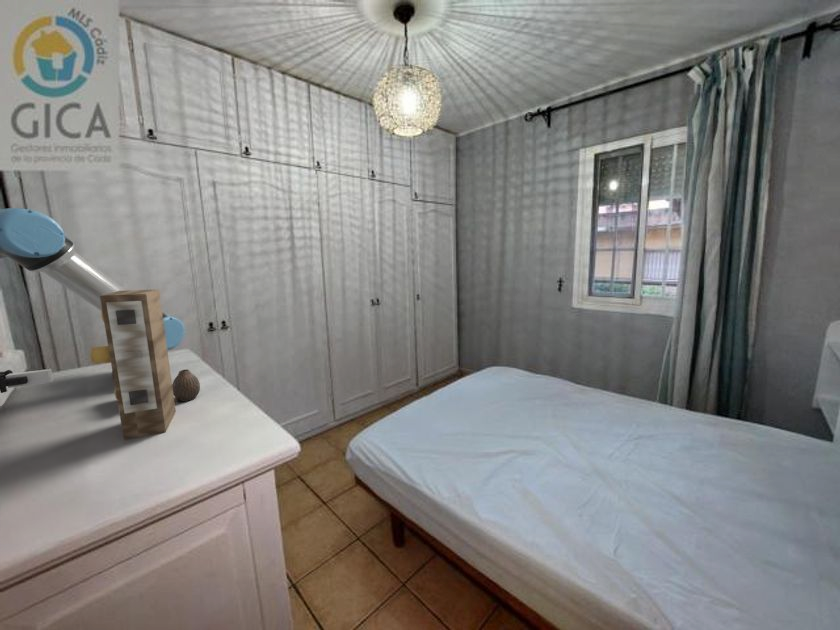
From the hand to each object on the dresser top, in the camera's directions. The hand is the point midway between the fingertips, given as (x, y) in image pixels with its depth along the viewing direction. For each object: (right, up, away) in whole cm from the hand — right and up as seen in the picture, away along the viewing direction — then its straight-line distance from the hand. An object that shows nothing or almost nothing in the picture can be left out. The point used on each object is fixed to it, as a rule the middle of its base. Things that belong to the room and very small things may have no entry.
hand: (50, 375), depth 75 cm
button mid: (+8, +2, +5) cm, 10 cm away
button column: (+14, -14, +11) cm, 23 cm away
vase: (+12, -12, +27) cm, 32 cm away
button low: (+11, -7, +8) cm, 15 cm away
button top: (+11, +12, +4) cm, 17 cm away
